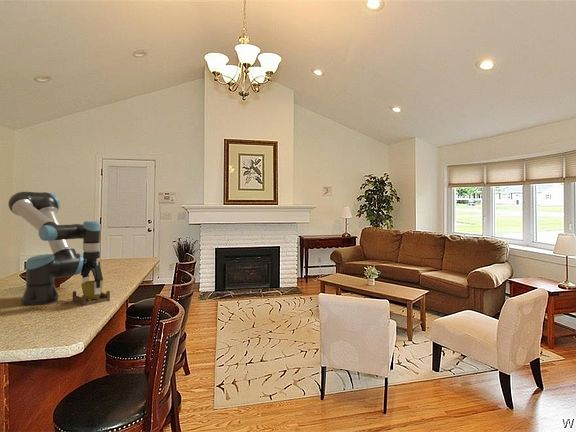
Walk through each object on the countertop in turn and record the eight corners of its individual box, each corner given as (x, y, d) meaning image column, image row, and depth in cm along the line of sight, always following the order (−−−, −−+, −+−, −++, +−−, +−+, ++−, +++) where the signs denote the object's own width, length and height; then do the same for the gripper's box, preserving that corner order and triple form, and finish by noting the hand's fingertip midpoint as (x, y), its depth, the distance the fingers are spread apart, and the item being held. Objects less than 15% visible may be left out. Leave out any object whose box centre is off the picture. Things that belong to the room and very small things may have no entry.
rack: (83, 305, 170) (83, 295, 170) (72, 301, 178) (72, 291, 177) (109, 300, 180) (109, 291, 180) (98, 296, 188) (98, 287, 188)
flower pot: (101, 298, 175) (100, 281, 176) (81, 301, 172) (80, 283, 172) (103, 296, 183) (102, 279, 184) (84, 298, 180) (84, 281, 181)
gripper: (110, 252, 173) (110, 294, 174) (88, 248, 189) (88, 286, 189) (94, 254, 167) (94, 297, 168) (73, 249, 183) (73, 289, 183)
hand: (91, 291), depth 179 cm, fingers open, 13 cm apart
